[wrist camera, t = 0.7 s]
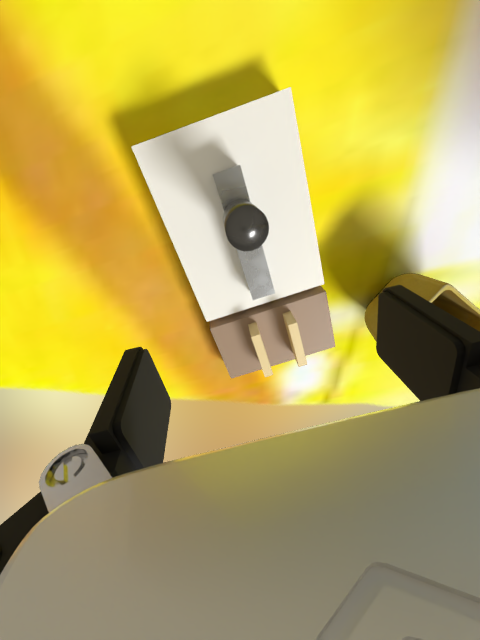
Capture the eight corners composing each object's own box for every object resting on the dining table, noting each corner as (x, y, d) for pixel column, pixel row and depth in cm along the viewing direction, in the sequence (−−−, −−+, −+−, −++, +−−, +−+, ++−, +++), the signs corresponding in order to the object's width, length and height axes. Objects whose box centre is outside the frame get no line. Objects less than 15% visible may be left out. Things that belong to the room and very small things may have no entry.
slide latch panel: (282, 95, 25) (300, 76, 20) (326, 334, 38) (344, 359, 33) (139, 148, 26) (121, 144, 21) (229, 364, 39) (232, 393, 34)
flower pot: (344, 311, 37) (381, 350, 29) (393, 255, 34) (449, 282, 26) (388, 339, 40) (432, 382, 32) (437, 290, 37) (499, 324, 29)
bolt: (242, 163, 25) (253, 161, 18) (274, 283, 31) (291, 314, 24) (208, 175, 25) (207, 178, 19) (246, 292, 31) (256, 325, 24)
